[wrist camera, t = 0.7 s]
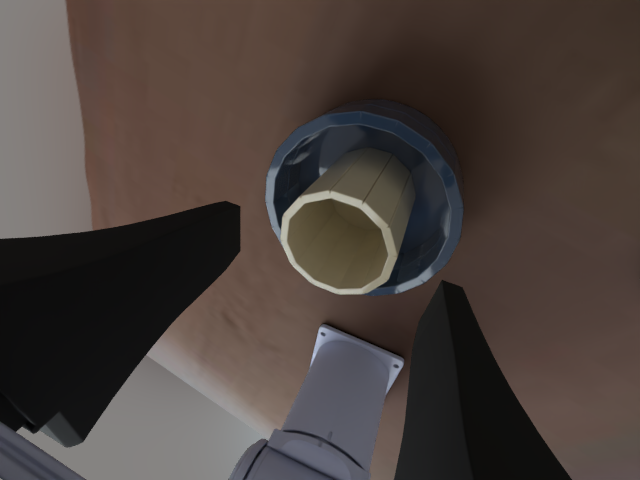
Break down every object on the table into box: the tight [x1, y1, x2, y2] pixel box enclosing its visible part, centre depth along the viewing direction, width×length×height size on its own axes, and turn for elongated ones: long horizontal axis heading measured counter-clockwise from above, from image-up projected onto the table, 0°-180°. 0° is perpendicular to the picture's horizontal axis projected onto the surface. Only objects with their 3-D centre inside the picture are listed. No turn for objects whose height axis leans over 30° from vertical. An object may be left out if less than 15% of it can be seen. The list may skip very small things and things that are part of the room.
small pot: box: [280, 147, 416, 295], centre depth 17 cm, size 6×6×7 cm
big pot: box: [265, 99, 464, 296], centre depth 18 cm, size 11×11×4 cm
